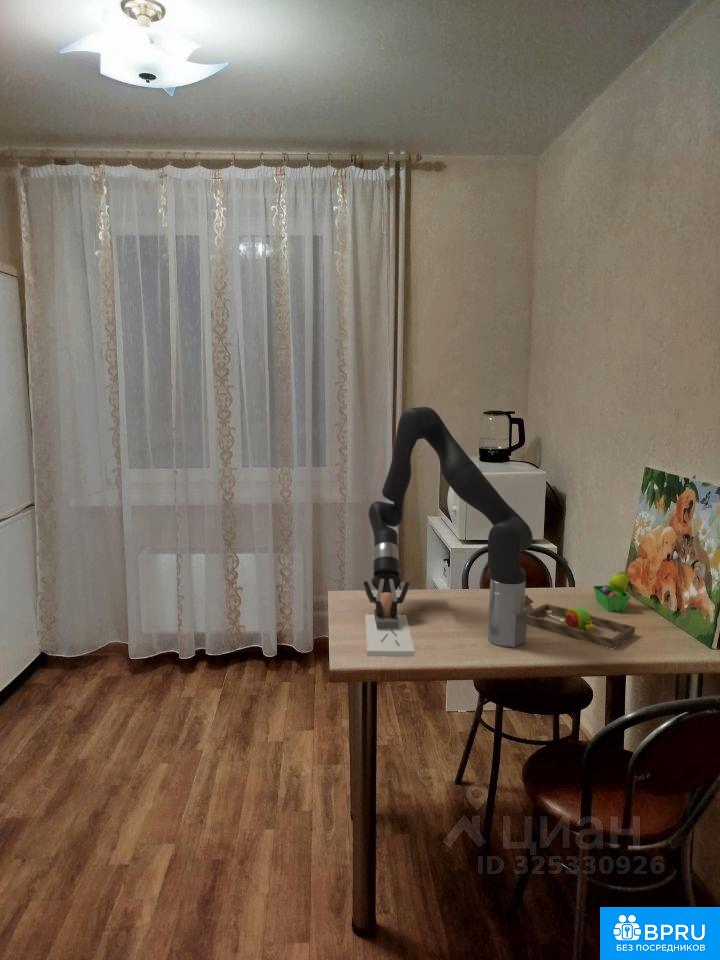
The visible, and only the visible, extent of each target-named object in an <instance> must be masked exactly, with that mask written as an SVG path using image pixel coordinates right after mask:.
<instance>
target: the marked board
mask: <svg viewBox="0 0 720 960" xmlns="http://www.w3.org/2000/svg"><path fill="white" fill-rule="evenodd" d="M397 617H398V621H399V630H377V627H376V622H375V618H374V614H365V630H366V631H365V633H366V650H367V651H366V655H367V657H371V656H374V658H375V657H382V656H385V657H393V658H395V657H396V658H397V657H398V658H399V657H401V658H404V657H405V658H406V657H407V658H409V657H412V656H413V658H414V657H415V648H414V643H413V639H412V634H411V631H410V627H409V622H408V618H407V614H397Z"/></svg>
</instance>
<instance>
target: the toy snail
mask: <svg viewBox="0 0 720 960" xmlns="http://www.w3.org/2000/svg"><path fill="white" fill-rule="evenodd" d="M568 609H569V610H568V611H567V613H566V617H565V618H561V619H560V620H558V619H556V618H555V617H554V616H555V615H554V616H552V615H553V614H552V613H553V612H552V611H551V610H548V611H545V614H544V615H545V616H548V617H550V618H553V619H555V620H556V621H559V622H561V624H562V625H566V626H569V627H573V628H576V629H580V630H583V631H587V632H590V633H593V632H594V631H595V628H596V626H594V625H593V621H591V616H590V615H591V614H590V613H589V611H588V610H587V609H586V608H584V607H583V606H574V607H571V608H568Z"/></svg>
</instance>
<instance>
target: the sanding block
mask: <svg viewBox="0 0 720 960" xmlns="http://www.w3.org/2000/svg"><path fill="white" fill-rule="evenodd" d="M380 602H381V617H378V615H377V614H376V608H374V610H373V612H374V614H373V615H374V618H375V622H376V627H377V630H399V621H398V617H397V615H398V613H397V614H396V615H395V617H392V593H389V592H384V593H381V601H380Z"/></svg>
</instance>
